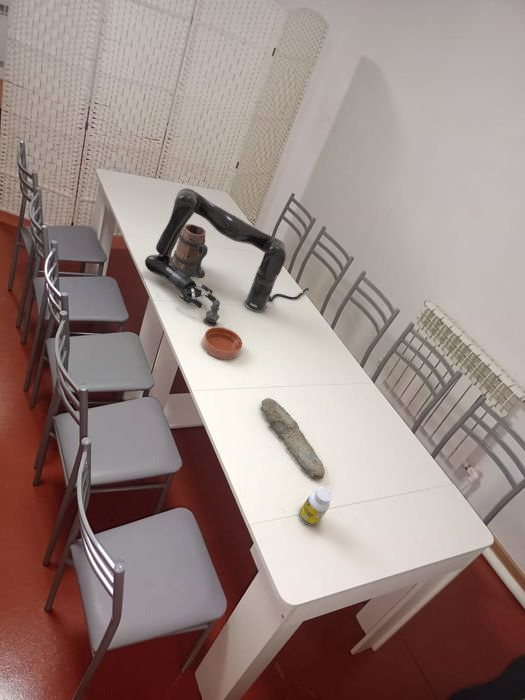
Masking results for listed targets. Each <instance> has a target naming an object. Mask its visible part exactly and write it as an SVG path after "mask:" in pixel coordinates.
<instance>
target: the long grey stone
mask: <svg viewBox="0 0 525 700" xmlns="http://www.w3.org/2000/svg"><path fill="white" fill-rule="evenodd" d="M261 412H263V416H264V417H265V419H266V420H267V422H268V423H269V428H271V429H272V430H273V431H274V432H275V433H276V435H277V437H278V438H279V439H280V440H281V441H282V442H283V444H284V446H285V447H286V450H287V451H289V454H290V455H292V457H293V458H294V459H295V462H297V464H298V465H299V467H300V468H301V469H302V470H303V471H304V473H305V474H306V475H308V476H309V478H311V479H313V480H321V479H323V478H324V476H325V474H326V473H325V467H324V464H323V462H322V460H321V459H320V458H319V456H318V455H317V453H316V452H315V450H314V448H313V447H312V446H311V444H310V443H309V441H308V440H307V438H306V437H305V435H304V433H303V432H302V431H301V429H300V427H299V423H298V422H297V421H296V420H295V419H294V418H293V417H292V416H291V414H290V413H289V412H287V410H286V409H285V408H284V407H283V406H282V405H281V404H280V403H278V402H277V401H276V400H275V399H273V398H271V397H270V398H269V397H267V398H264V399H263V400H262V401H261Z"/></svg>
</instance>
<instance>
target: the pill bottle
mask: <svg viewBox="0 0 525 700" xmlns="http://www.w3.org/2000/svg"><path fill="white" fill-rule="evenodd" d="M332 498H333V496H332V493H331V491H330V490H329V489H328V488H326V487H318V488H317V489H316V490H315V491H312V492H311V493H310V494H309V495H308V497H307V498H306V500H305V501H304V503H303V504H302V506H301V508H300V509H299V517H300V519H301V520H302V522H303V523H304V524H306V525H309V526H315V525H317V524H318V523H319V522H320V521H321V520H322V518H323V517H324V515H325V514H326V513H327V511H328V510H329V508H330V505H331V500H332Z"/></svg>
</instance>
